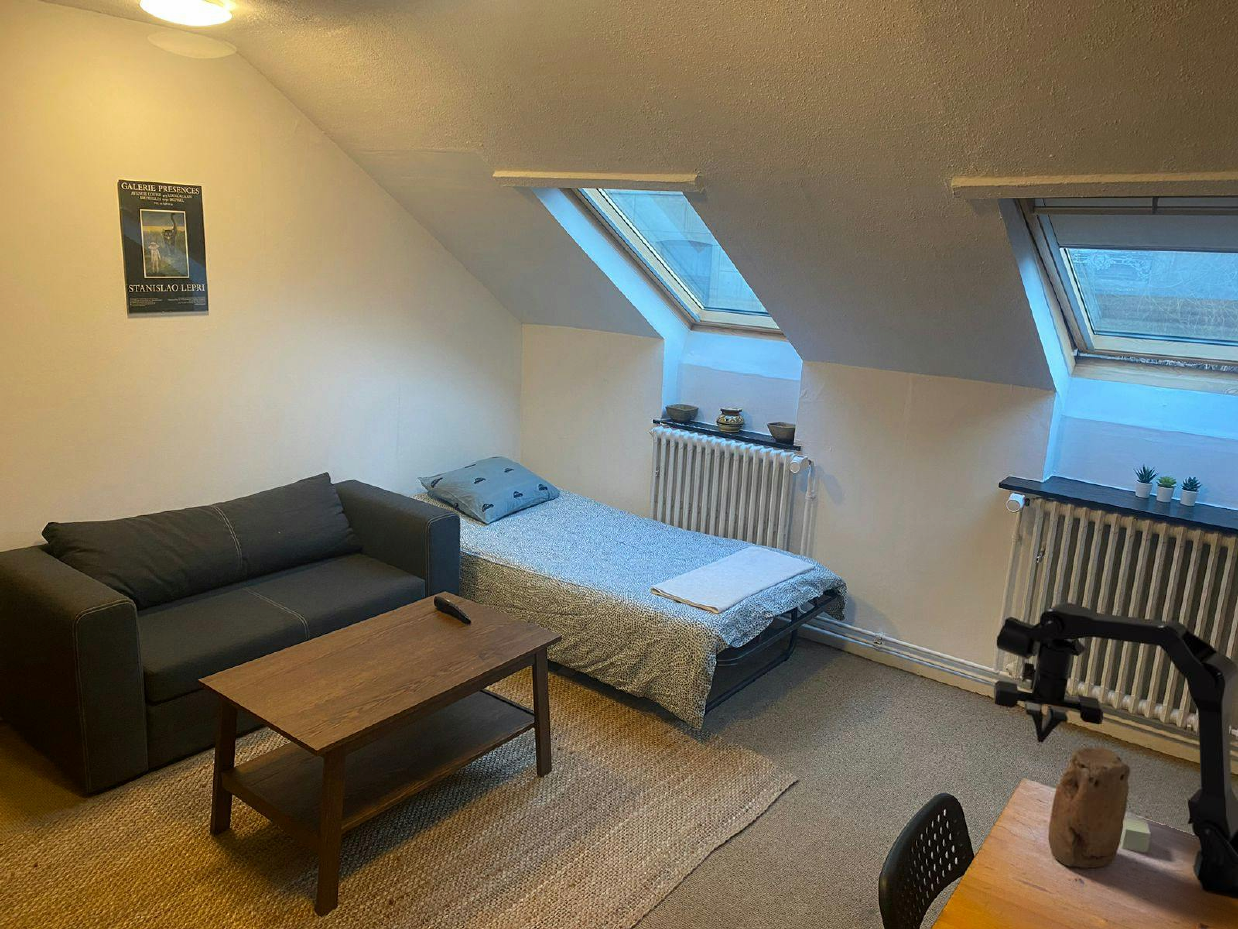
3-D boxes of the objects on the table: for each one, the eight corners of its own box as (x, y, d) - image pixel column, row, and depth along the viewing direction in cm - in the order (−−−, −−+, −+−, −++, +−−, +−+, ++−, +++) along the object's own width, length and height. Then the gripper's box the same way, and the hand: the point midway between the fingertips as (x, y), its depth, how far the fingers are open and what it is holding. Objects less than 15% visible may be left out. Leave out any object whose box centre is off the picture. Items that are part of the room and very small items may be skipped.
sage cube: (1141, 839, 169) (1145, 820, 168) (1146, 853, 165) (1150, 834, 164) (1117, 835, 170) (1121, 816, 169) (1122, 848, 166) (1125, 829, 165)
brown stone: (1090, 840, 168) (1108, 742, 163) (1120, 867, 161) (1140, 766, 156) (1038, 847, 166) (1055, 748, 161) (1067, 875, 159) (1085, 772, 154)
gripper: (1100, 659, 179) (1087, 731, 183) (998, 642, 185) (986, 712, 188) (1110, 684, 169) (1095, 760, 172) (1001, 665, 174) (989, 739, 178)
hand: (1039, 741), depth 178 cm, fingers closed
